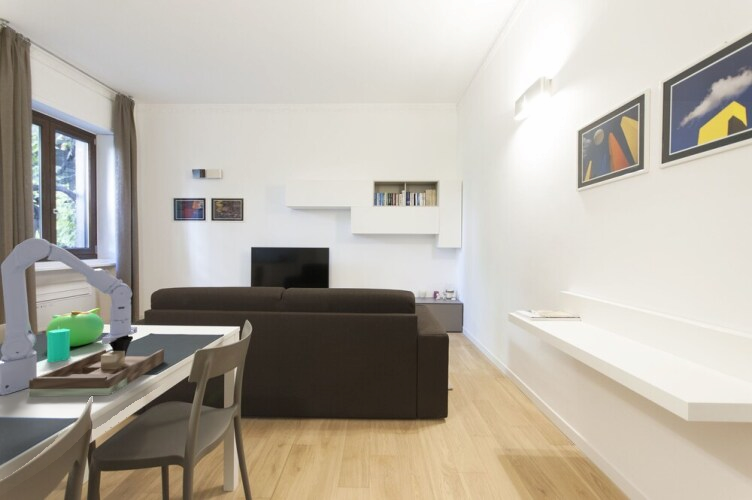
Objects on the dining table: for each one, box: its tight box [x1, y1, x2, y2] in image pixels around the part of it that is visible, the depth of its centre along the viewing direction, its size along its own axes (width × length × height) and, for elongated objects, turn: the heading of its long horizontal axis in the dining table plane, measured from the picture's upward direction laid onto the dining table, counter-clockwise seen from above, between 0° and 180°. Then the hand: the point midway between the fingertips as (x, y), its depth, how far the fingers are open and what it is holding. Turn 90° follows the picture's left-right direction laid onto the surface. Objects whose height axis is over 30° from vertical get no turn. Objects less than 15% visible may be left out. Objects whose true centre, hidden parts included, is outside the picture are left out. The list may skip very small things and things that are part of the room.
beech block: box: [101, 350, 125, 369], centre depth 113 cm, size 4×4×4 cm
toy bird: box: [45, 307, 105, 348], centre depth 143 cm, size 18×17×15 cm
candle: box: [46, 326, 71, 363], centre depth 126 cm, size 6×6×12 cm
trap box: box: [28, 348, 165, 397], centre depth 110 cm, size 28×21×5 cm
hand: (120, 359), depth 117 cm, fingers closed
